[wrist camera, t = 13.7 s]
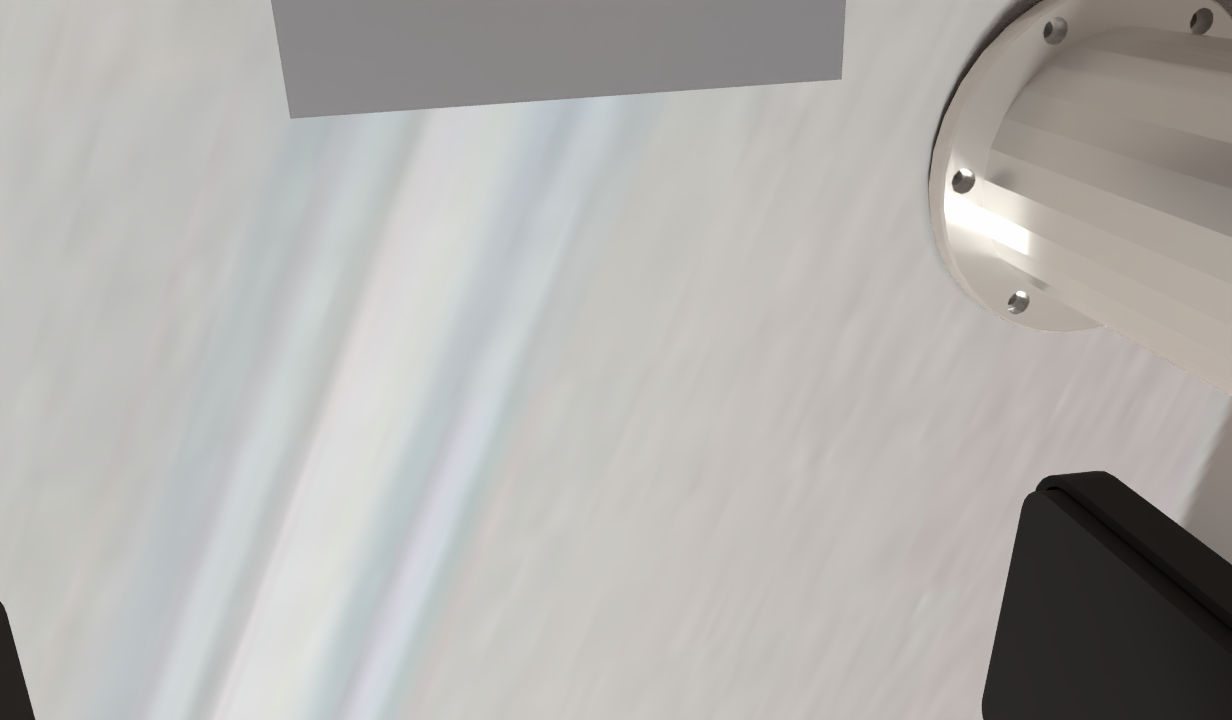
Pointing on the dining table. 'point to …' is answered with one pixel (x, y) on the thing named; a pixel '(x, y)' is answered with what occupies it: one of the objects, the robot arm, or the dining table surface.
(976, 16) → the dining table surface
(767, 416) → the dining table surface
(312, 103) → the socket plate
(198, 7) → the dining table surface
